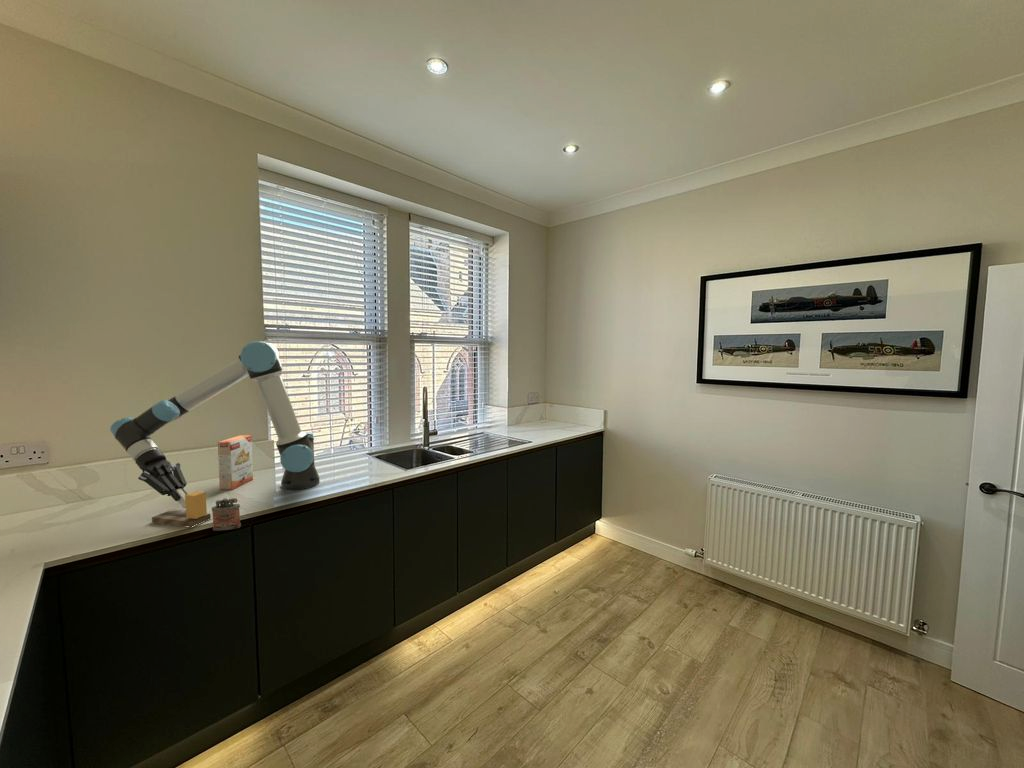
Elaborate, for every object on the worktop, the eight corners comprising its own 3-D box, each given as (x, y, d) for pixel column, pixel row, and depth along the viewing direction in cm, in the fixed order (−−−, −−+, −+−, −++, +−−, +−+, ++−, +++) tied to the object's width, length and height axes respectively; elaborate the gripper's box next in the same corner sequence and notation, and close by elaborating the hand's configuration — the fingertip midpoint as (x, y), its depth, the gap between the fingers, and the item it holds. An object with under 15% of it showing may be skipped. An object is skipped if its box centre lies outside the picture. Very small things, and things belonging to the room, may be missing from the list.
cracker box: (233, 490, 174) (230, 441, 172) (219, 490, 174) (216, 441, 172) (254, 479, 188) (252, 434, 186) (241, 479, 188) (239, 434, 186)
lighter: (211, 531, 135) (209, 502, 134) (215, 527, 138) (213, 498, 138) (238, 528, 137) (237, 499, 136) (242, 524, 141) (240, 496, 140)
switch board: (152, 522, 142) (151, 516, 141) (172, 514, 148) (172, 509, 148) (191, 527, 138) (190, 521, 138) (210, 519, 145) (210, 513, 144)
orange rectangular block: (186, 517, 140) (184, 495, 139) (197, 513, 144) (196, 491, 143) (195, 518, 139) (194, 496, 138) (206, 514, 143) (205, 491, 142)
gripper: (161, 457, 151) (200, 505, 149) (120, 467, 138) (162, 519, 136) (171, 444, 149) (211, 492, 147) (131, 453, 137) (174, 505, 134)
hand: (188, 505), depth 141 cm, fingers closed
